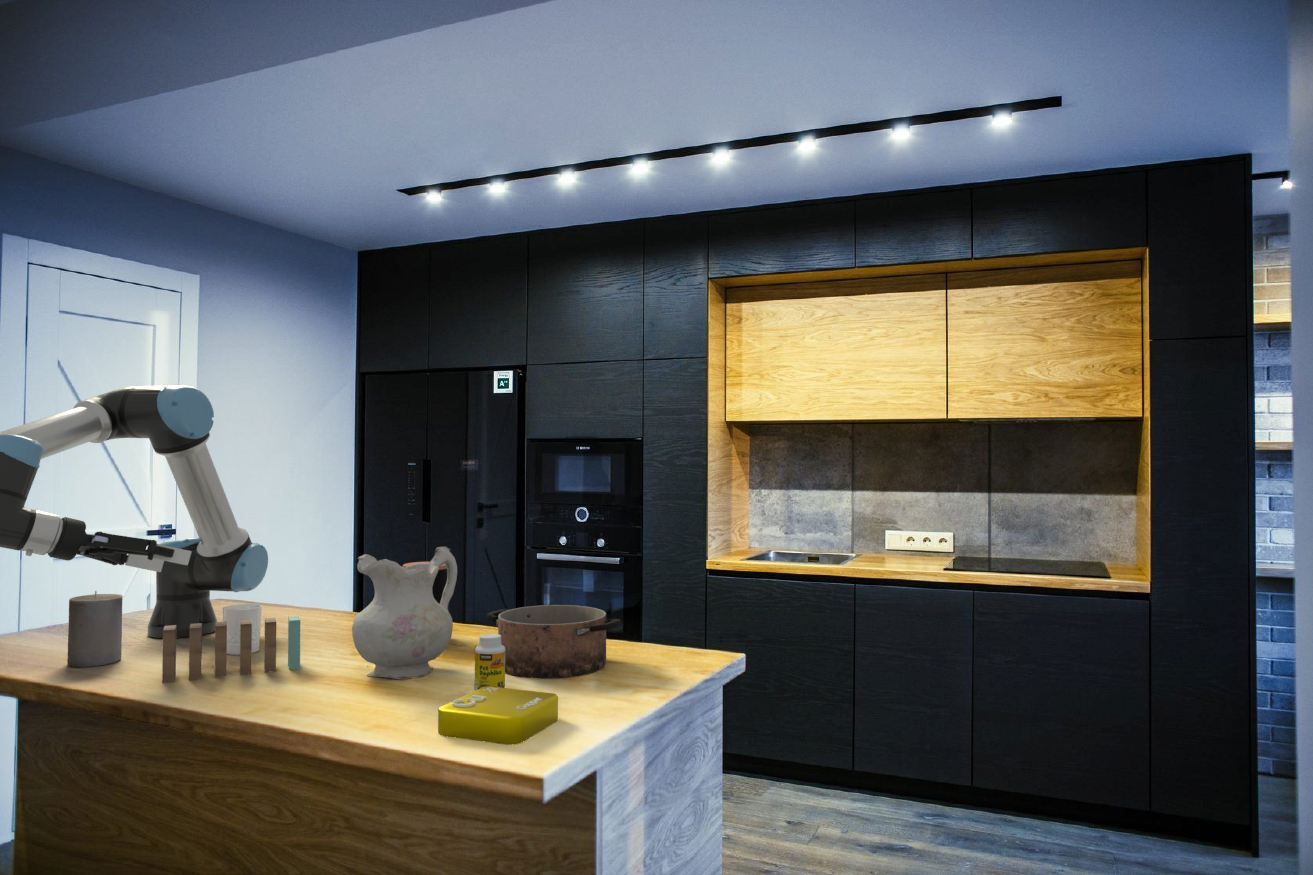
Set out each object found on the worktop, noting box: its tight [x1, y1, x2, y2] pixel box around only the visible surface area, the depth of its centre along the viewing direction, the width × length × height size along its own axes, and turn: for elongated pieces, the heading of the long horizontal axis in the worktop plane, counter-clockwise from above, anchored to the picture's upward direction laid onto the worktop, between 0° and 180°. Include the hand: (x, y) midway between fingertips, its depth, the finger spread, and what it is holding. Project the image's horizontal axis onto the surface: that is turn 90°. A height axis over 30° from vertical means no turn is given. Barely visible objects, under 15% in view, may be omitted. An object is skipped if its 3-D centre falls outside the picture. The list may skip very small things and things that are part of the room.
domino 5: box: [263, 617, 277, 673], centre depth 177 cm, size 5×2×10 cm, turn 26°
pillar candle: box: [67, 590, 124, 668], centre depth 183 cm, size 10×10×15 cm
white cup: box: [222, 603, 263, 656], centre depth 193 cm, size 8×8×10 cm
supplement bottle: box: [474, 633, 506, 691], centre depth 160 cm, size 6×6×10 cm
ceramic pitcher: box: [351, 545, 458, 680], centre depth 176 cm, size 22×20×25 cm
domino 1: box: [161, 625, 177, 684], centre depth 169 cm, size 5×2×10 cm, turn 26°
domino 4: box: [239, 619, 253, 676], centre depth 175 cm, size 5×2×10 cm, turn 26°
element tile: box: [437, 686, 559, 746], centre depth 140 cm, size 15×15×5 cm
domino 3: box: [214, 621, 228, 678], centre depth 173 cm, size 5×2×10 cm, turn 26°
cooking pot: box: [486, 604, 622, 680], centre depth 180 cm, size 30×22×11 cm
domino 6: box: [287, 615, 301, 671], centre depth 179 cm, size 5×2×10 cm, turn 26°
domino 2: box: [188, 623, 203, 681], centre depth 171 cm, size 5×2×10 cm, turn 26°
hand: (175, 562), depth 172 cm, fingers open, 13 cm apart
